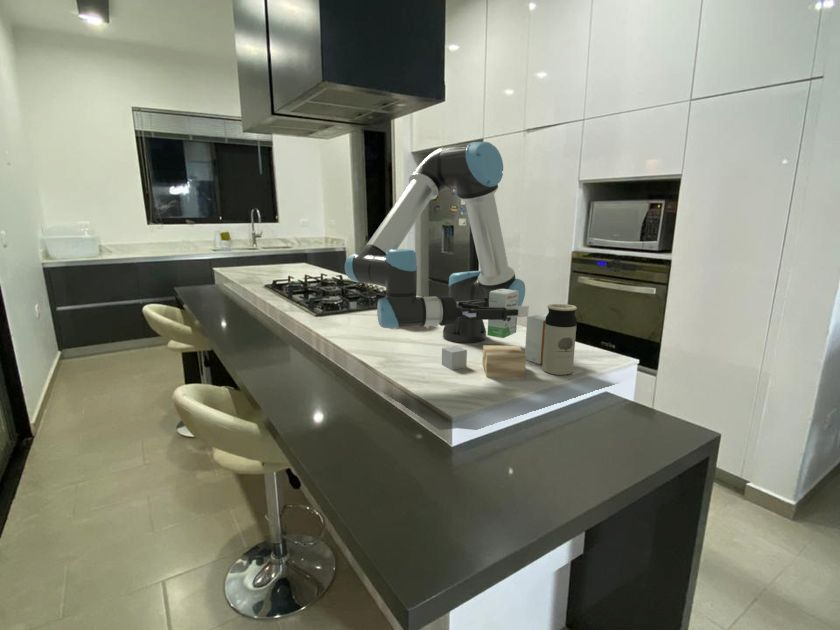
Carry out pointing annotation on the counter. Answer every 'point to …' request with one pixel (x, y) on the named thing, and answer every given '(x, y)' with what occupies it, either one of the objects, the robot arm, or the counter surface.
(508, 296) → the ink box
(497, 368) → the oak block
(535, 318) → the small box
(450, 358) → the grey cube
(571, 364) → the travel mug
